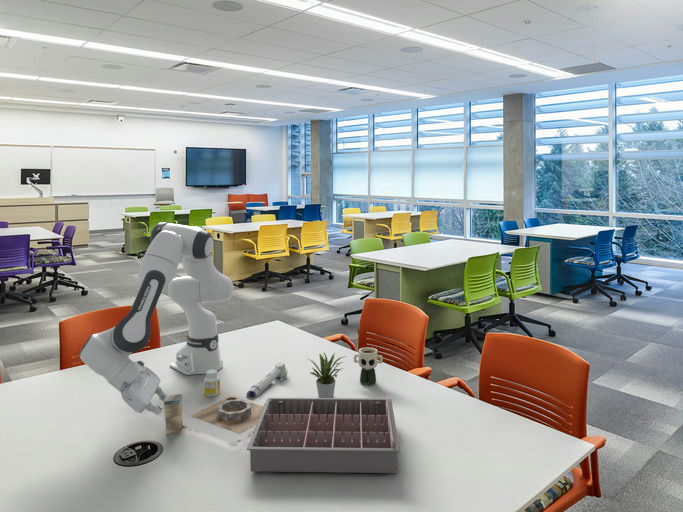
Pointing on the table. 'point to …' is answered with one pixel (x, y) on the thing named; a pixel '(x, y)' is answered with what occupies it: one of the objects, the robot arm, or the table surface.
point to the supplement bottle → (212, 383)
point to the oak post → (173, 414)
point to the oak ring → (231, 398)
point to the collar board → (230, 424)
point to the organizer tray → (325, 436)
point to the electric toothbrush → (268, 380)
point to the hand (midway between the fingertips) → (163, 405)
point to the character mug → (368, 364)
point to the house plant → (326, 376)
